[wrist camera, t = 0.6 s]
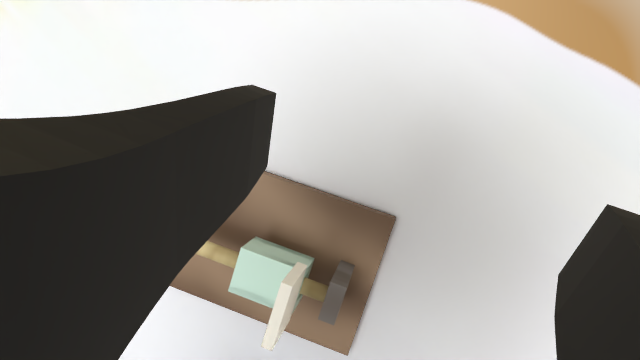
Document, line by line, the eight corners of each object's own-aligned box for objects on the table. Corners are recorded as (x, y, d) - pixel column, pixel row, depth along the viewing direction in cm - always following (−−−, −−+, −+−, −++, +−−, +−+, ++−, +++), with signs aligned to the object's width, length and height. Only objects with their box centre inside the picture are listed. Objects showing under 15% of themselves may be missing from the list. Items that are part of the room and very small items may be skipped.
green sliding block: (299, 304, 30) (271, 351, 24) (242, 281, 30) (199, 322, 24) (316, 252, 29) (292, 286, 23) (257, 230, 30) (218, 258, 24)
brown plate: (349, 348, 33) (337, 397, 27) (99, 251, 36) (39, 276, 30) (395, 216, 31) (393, 237, 25) (130, 124, 34) (73, 124, 28)
